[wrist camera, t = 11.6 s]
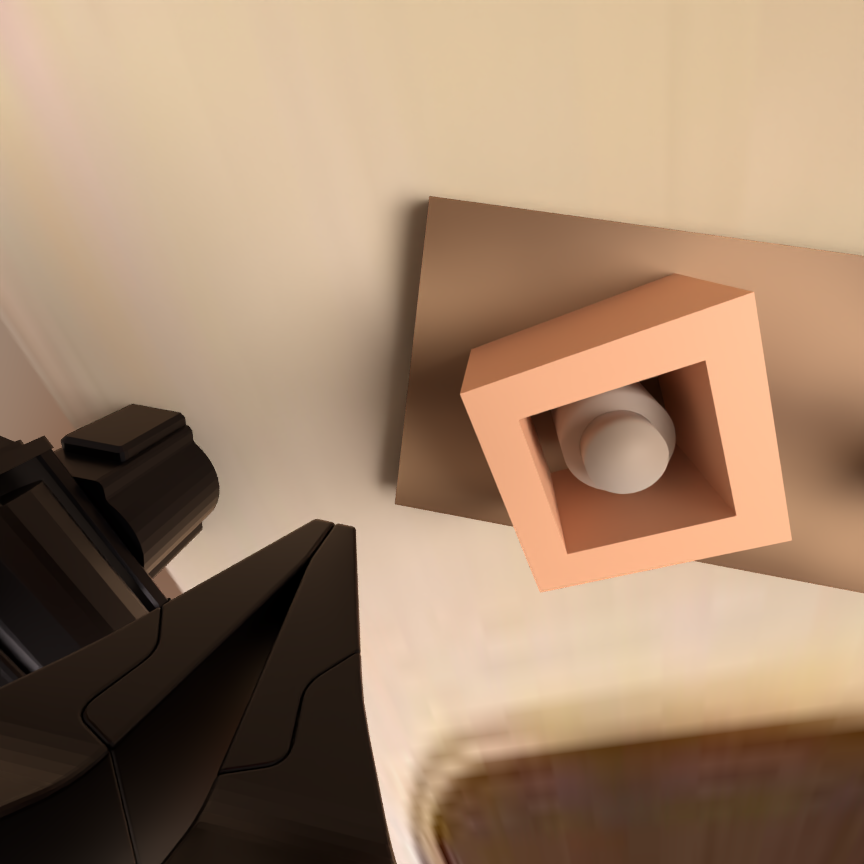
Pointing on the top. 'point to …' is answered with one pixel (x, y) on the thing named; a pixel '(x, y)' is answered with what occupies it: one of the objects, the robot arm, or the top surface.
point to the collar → (684, 402)
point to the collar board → (642, 401)
